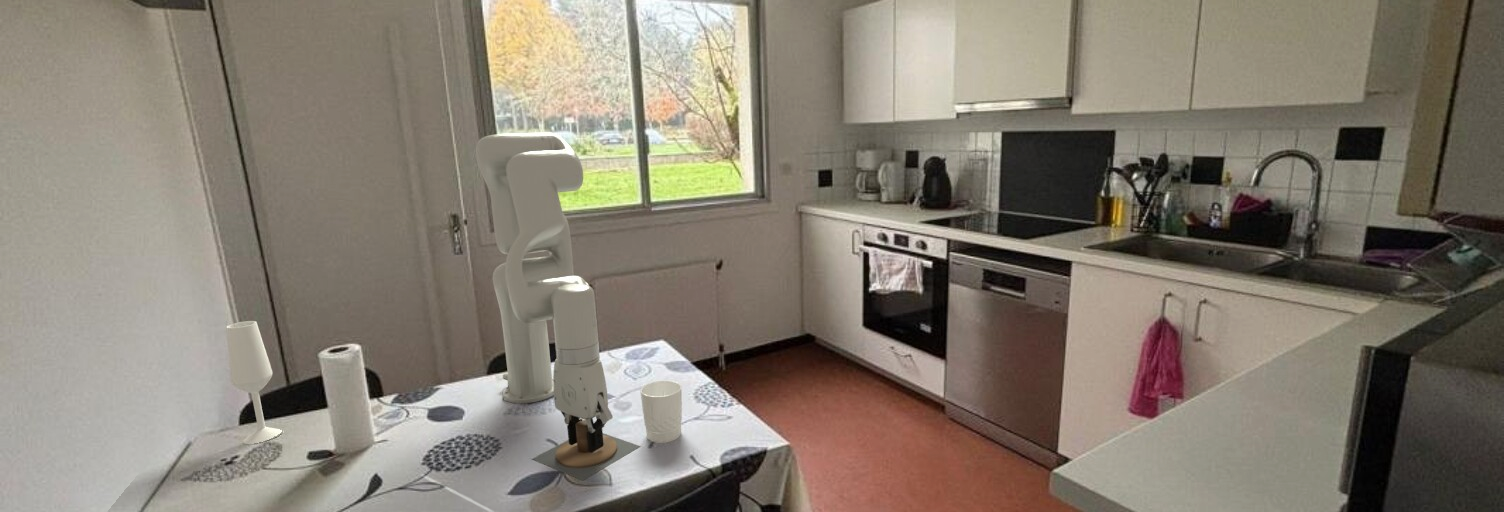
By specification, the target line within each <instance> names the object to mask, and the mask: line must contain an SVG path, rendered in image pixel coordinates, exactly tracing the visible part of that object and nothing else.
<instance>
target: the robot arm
mask: <svg viewBox="0 0 1504 512" xmlns="http://www.w3.org/2000/svg"><path fill="white" fill-rule="evenodd" d="M475 158H476V162H477V163H476V164H477V167H478V170H479V171H480V173H481V176H482V178H483V180H484V182H485V185H486V186H487V190H488V191H489V192H488V193H489V195H490V201H491V202H490V203H491V211H492V212H491V213H492V221H493V231H494V236H495V243H496V246H497V248H498V250H499V251H500V253H502V254H504V255H507V256H506V260H505V262H504V263H501V264H499V265H498V266H497V267H495V269H494V271H493V274H492V284H493V289H494V291H495V296H496V299H497V303H498V307H499V311H500V319H501V326H502V333H503V341H504V349H505V351H504V353H505V360H506V368H507V373H504V374H503V375H502V379H503V380H506V381H507V386H506V387H505V388H504V390H503V391H502V397H503V400H505V401H506V402H509V403H513V404H530V403H535V402H536V403H537V402H539V401H543V400H546V399H548V398H552V397H553V402H554V406H555V409H557V411H559V412H560V413H561V414H562V415H563V418H564V421H563V422H564V423H565V424H566V425H567V426H566V427H567V428H566V429H567V436H568V440H569V444H570V445H574V444H576V443H577V436H576V423H577V422H579V421H582V420H586V421H587V425H588V429H589V431H588V432H587V443H588V451H589V452H591V453H592V452H594V451H596V450H598V449H599V448H601V447H603V445H604V444H603V428H604V427H605V425H606V423H608V422H609V421H611V420H612V419H613V414H612V412H611V410H610V408H609V397H608V388H607V382H606V375H605V371H604V367H603V364H602V360H601V355H600V345H599V344H600V343H599V334H598V322H597V311H596V309H597V307H596V298H595V297H596V296H595V290H594V288H592V286H590V285H589V284H588V282H586V280H585V279H584V278H583V277H581V276H579V275H574V271H575V270H574V261H573V252H572V251H573V249H572V238H571V231H570V225H569V222H568V219H567V217H566V216H565V215H566V214H564V213H563V209H562V205H561V201H560V196H559V193H567V192H576V191H578V190H580V188H581V187H582V185H583V182H584V170H583V166H582V163H581V161H580V159H579V158H580V157H579V156H578V154H577V153H576V152H575V150H574V148H572V147H571V146H570V144H568V143H567V141H566V140H565V139H564V138H563V137H562V136H561V135H559V134H557V133H553V132H528V133H526V132H525V133H523V132H519V133H518V132H517V133H516V132H515V133H513V132H512V133H498V134H497V133H495V134H490V135H486V136H483V137H481V138H480V139H479V140H478V142H477V143H476V145H475ZM540 252H548V254H549V255H547V256H540V257H539V256H538V257H531V258H530V257H529V258H525V256H526V255H527V254H534V253H540ZM548 320H552V321H553V322H552V325H553V332H554V334H553V335H554V343H555V344H554V345H555V356H556V359H555V360H554V363H553V365H554V366H553V374H552V364H551V363H552V362H551V356H550V355H551V354H550V345H549V344H550V343H549V335H548V334H549V333H548V325H547V321H548ZM552 375H553V376H552ZM594 418H596V419H595V421H594ZM568 440H567V441H568Z"/></svg>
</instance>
